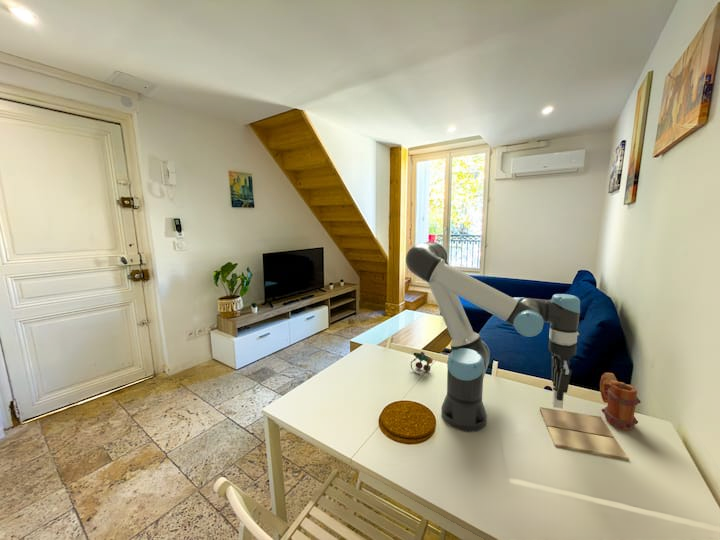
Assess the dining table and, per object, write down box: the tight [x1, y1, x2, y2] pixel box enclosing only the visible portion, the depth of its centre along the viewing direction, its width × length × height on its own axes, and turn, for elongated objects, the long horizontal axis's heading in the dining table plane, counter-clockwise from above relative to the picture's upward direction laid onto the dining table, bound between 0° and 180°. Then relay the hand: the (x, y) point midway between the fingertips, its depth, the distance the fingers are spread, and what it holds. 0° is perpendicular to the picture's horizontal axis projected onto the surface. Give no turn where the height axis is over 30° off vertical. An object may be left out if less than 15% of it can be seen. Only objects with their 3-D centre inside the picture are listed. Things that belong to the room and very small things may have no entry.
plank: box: [539, 406, 615, 438], centre depth 97 cm, size 18×9×2 cm, turn 71°
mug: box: [599, 372, 641, 431], centre depth 99 cm, size 15×8×15 cm, turn 168°
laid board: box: [546, 426, 630, 461], centre depth 89 cm, size 18×8×2 cm, turn 71°
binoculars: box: [410, 351, 434, 375], centre depth 134 cm, size 9×9×10 cm
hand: (557, 406), depth 99 cm, fingers closed
